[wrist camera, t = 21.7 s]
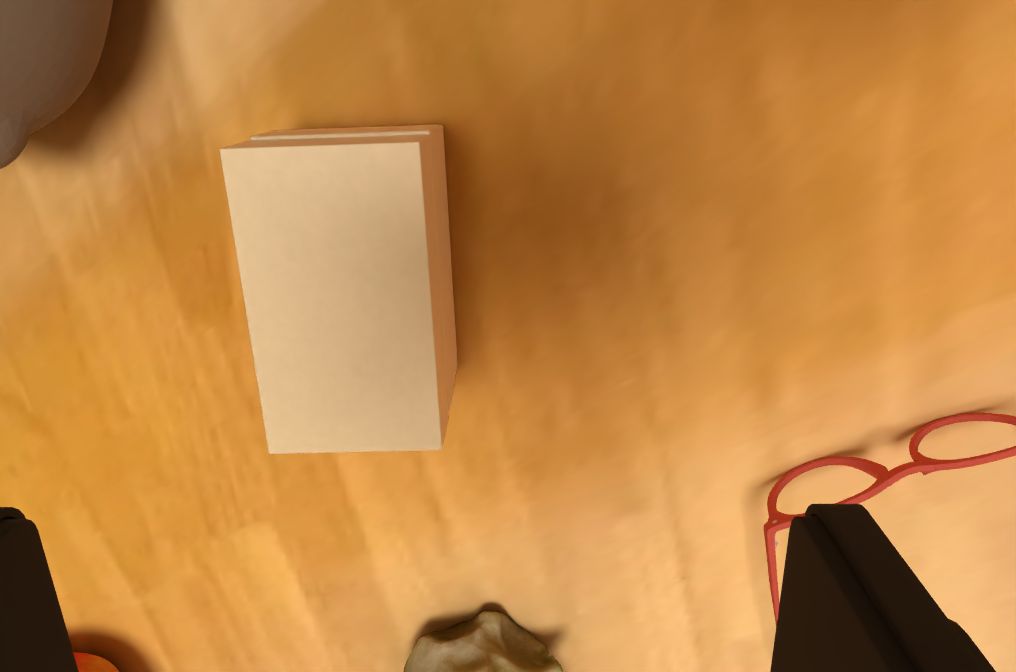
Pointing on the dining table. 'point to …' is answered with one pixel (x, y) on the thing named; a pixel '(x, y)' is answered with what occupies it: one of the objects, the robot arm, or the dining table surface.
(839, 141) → the dining table surface
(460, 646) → the fruit
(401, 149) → the cream rectangular block
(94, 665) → the apple
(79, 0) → the decorative object
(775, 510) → the red eyeglasses
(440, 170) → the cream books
